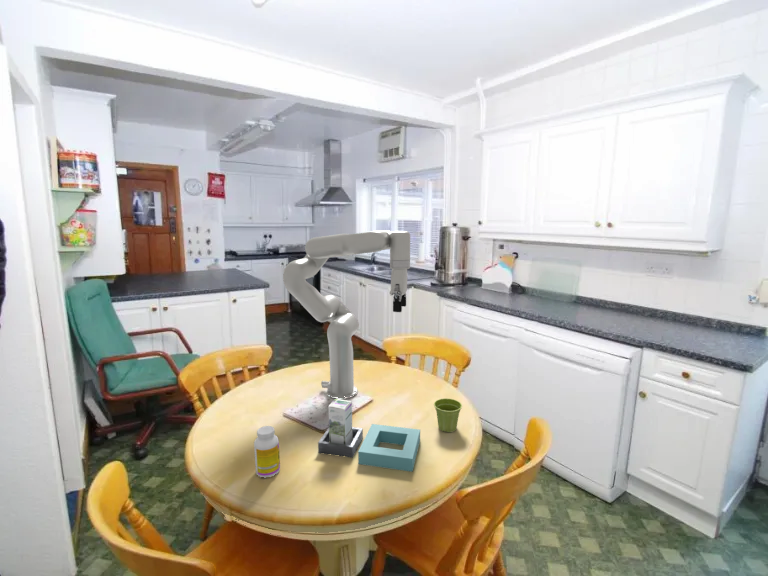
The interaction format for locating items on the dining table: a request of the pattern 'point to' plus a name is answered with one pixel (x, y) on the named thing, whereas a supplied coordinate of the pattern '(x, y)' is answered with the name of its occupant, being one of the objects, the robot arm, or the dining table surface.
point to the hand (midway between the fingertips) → (399, 308)
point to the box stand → (341, 449)
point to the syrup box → (340, 421)
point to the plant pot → (447, 413)
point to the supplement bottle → (266, 452)
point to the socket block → (386, 456)
